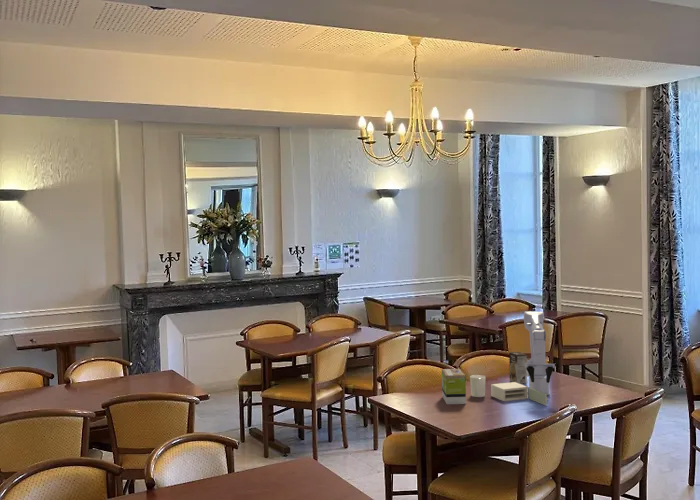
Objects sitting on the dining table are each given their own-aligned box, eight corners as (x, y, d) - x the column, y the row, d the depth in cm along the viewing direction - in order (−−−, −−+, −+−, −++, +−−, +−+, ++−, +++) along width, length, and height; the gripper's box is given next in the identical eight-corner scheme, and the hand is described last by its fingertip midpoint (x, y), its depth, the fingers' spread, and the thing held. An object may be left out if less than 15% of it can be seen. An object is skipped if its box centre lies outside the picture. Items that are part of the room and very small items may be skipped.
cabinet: (514, 393, 355) (514, 382, 355) (527, 398, 344) (527, 386, 344) (491, 395, 351) (491, 384, 351) (503, 401, 340) (503, 389, 340)
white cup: (485, 397, 347) (485, 378, 347) (470, 397, 349) (469, 377, 348) (485, 394, 355) (485, 375, 354) (470, 393, 356) (470, 374, 356)
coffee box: (509, 380, 385) (508, 352, 384) (519, 379, 386) (519, 351, 386) (516, 384, 376) (516, 355, 376) (527, 383, 378) (527, 354, 377)
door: (527, 398, 344) (527, 387, 344) (530, 397, 344) (530, 387, 344) (545, 405, 330) (545, 394, 330) (548, 405, 330) (548, 393, 330)
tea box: (441, 397, 350) (441, 368, 350) (461, 396, 350) (460, 368, 350) (446, 404, 335) (445, 374, 335) (466, 404, 335) (466, 374, 335)
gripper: (527, 353, 333) (528, 381, 330) (556, 354, 334) (557, 382, 331) (523, 354, 340) (523, 382, 337) (551, 355, 341) (552, 383, 338)
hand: (540, 382), depth 334 cm, fingers open, 7 cm apart
